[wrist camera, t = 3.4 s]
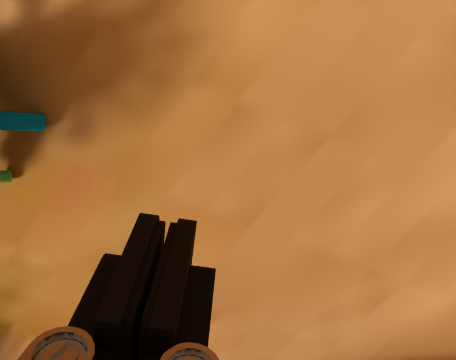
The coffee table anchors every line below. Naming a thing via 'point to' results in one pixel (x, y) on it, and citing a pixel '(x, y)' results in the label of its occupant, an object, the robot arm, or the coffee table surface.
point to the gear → (19, 129)
